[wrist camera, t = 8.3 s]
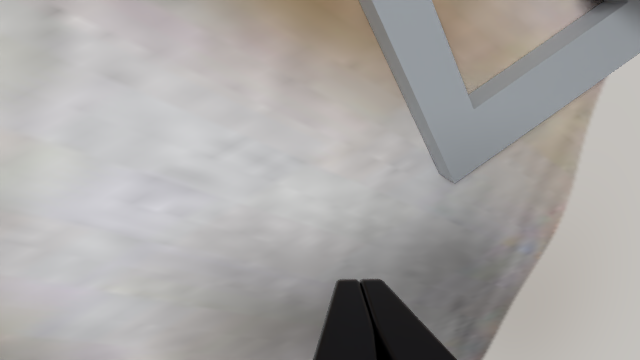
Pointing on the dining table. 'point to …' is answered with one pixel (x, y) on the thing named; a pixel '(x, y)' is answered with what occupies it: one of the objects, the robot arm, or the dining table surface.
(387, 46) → the pocket board
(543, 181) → the dining table surface
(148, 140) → the dining table surface
